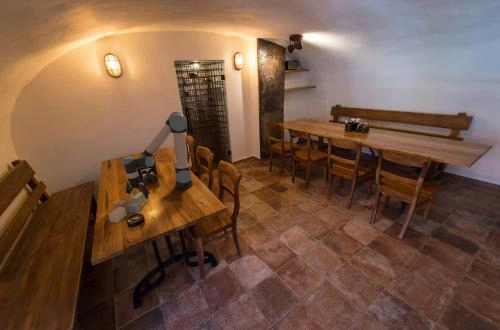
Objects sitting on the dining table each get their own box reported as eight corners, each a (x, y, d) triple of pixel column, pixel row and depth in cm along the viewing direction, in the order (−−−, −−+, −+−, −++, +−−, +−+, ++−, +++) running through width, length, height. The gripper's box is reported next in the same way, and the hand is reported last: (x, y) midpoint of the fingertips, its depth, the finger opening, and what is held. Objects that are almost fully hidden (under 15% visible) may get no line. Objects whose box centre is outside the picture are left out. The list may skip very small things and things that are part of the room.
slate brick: (142, 208, 152) (140, 202, 149) (137, 212, 147) (135, 205, 145) (131, 207, 153) (129, 201, 151) (126, 211, 149) (124, 204, 146)
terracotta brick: (130, 207, 154) (127, 200, 151) (124, 211, 149) (122, 204, 147) (120, 206, 156) (117, 199, 153) (114, 210, 151) (112, 203, 149)
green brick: (146, 199, 164) (145, 192, 162) (138, 205, 156) (137, 198, 154) (141, 198, 165) (139, 192, 163) (133, 204, 157) (131, 197, 155)
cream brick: (127, 214, 146) (124, 207, 143) (116, 222, 138) (114, 215, 135) (121, 214, 147) (118, 206, 144) (110, 221, 139) (108, 214, 136)
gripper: (150, 175, 153) (156, 200, 161) (123, 173, 159) (130, 197, 167) (143, 180, 146) (150, 205, 155) (115, 177, 152) (123, 202, 160)
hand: (140, 201), depth 161 cm, fingers open, 12 cm apart
